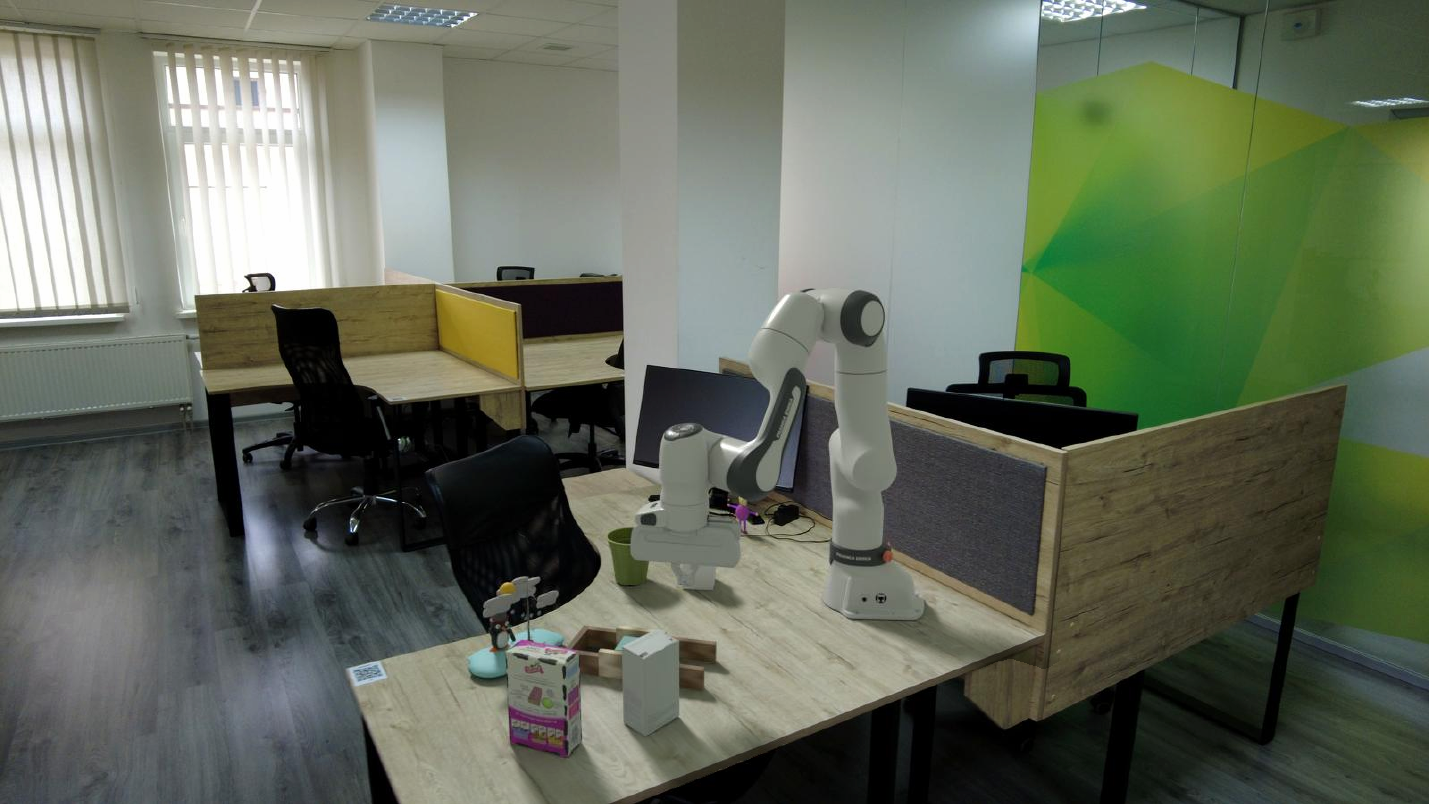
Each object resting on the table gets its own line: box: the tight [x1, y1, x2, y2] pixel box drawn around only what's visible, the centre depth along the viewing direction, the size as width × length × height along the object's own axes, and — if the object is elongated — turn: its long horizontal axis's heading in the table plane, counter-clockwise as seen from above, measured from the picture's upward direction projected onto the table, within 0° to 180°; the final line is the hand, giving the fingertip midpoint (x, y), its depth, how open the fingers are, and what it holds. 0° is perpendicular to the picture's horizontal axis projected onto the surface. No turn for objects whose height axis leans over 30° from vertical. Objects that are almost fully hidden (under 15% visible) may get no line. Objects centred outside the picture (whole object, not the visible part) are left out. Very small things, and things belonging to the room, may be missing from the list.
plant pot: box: [605, 526, 650, 586], centre depth 200 cm, size 12×12×11 cm
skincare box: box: [622, 628, 680, 737], centre depth 143 cm, size 8×6×15 cm
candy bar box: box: [505, 640, 583, 758], centre depth 137 cm, size 11×5×16 cm, turn 69°
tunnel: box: [565, 624, 717, 691], centre depth 162 cm, size 27×11×5 cm, turn 77°
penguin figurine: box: [466, 576, 565, 679], centre depth 164 cm, size 20×11×15 cm, turn 135°
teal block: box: [615, 636, 638, 651], centre depth 162 cm, size 6×6×4 cm
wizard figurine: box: [726, 496, 759, 534], centre depth 231 cm, size 11×3×12 cm, turn 45°
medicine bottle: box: [681, 564, 717, 591], centre depth 198 cm, size 7×7×12 cm
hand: (686, 584), depth 157 cm, fingers closed
